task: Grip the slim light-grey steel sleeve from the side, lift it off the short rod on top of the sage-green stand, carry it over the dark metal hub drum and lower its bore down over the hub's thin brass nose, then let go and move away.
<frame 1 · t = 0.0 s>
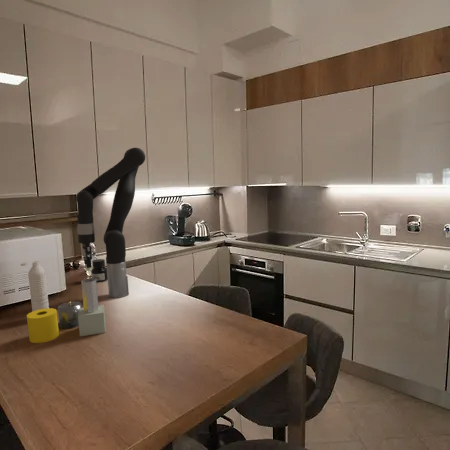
hand: (87, 265, 173), 17 cm above the table, tool pointing down, fingers open, 8 cm apart
sleeve: (91, 310, 139), point 8 cm above the table, touching sage stand
sage stand: (93, 329, 140), on the table
water bottle: (38, 319, 153), on the table
yellow toilet paper roll: (44, 337, 135), on the table
ink bottle: (100, 280, 209), on the table
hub: (71, 323, 146), on the table
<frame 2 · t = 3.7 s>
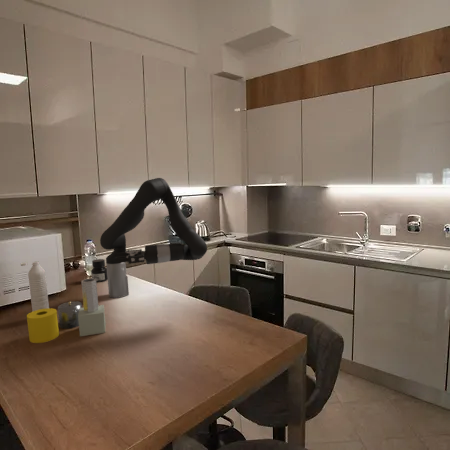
hand: (115, 258, 139), 28 cm above the table, tool horizontal, fingers open, 8 cm apart
nothing on the table moved.
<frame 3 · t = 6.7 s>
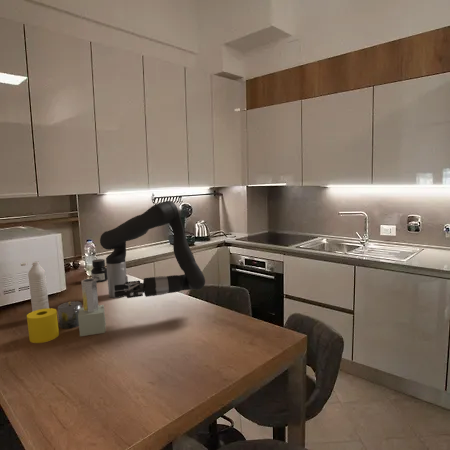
hand: (114, 291, 140), 14 cm above the table, tool horizontal, fingers open, 8 cm apart
nothing on the table moved.
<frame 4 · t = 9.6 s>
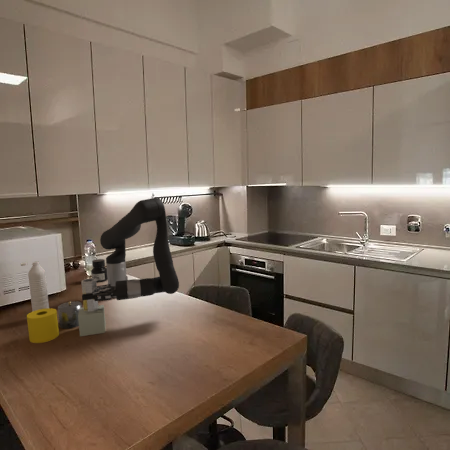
hand: (82, 295, 137), 15 cm above the table, tool horizontal, fingers closed on sleeve, 5 cm apart
sleeve: (91, 310, 139), point 8 cm above the table, touching gripper, sage stand
everything else where it was.
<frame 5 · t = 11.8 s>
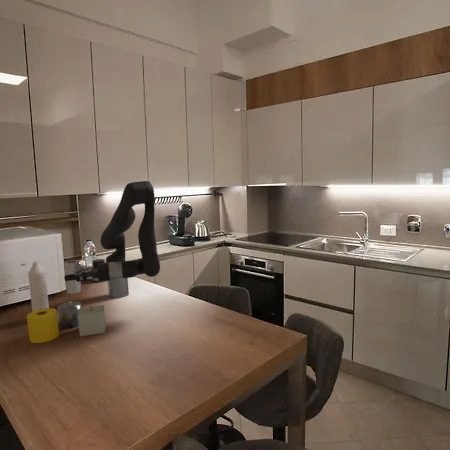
hand: (65, 276, 141), 21 cm above the table, tool horizontal, fingers closed on sleeve, 5 cm apart
sleeve: (74, 291, 143), point 14 cm above the table, touching gripper
everything else where it was.
when the fingers open (15 cm above the table, at t = 14.0 s): sleeve stays where it is, resting on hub.
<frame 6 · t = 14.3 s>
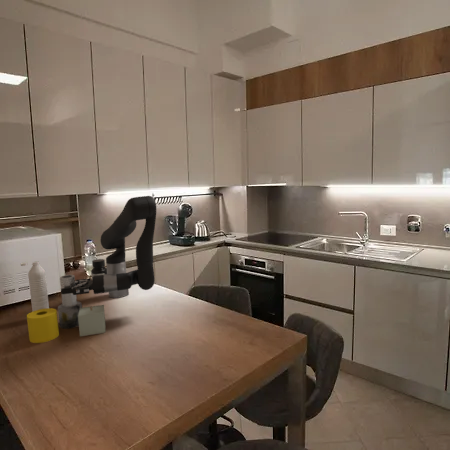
hand: (62, 288, 144), 15 cm above the table, tool horizontal, fingers open, 7 cm apart
sleeve: (70, 305, 145), point 8 cm above the table, touching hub
everything else where it was.
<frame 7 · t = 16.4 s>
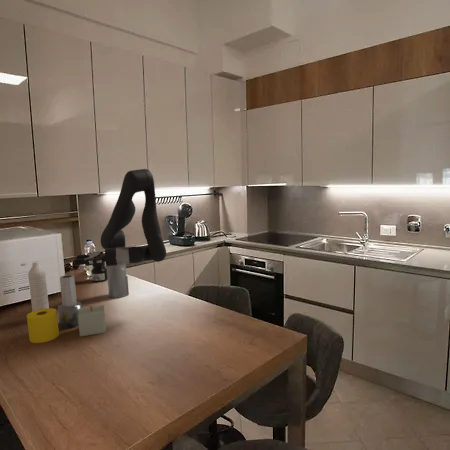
hand: (75, 260, 144), 26 cm above the table, tool horizontal, fingers open, 8 cm apart
nothing on the table moved.
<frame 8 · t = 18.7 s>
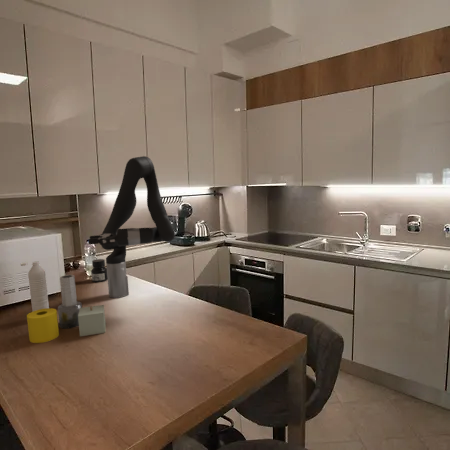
hand: (89, 240, 151), 33 cm above the table, tool horizontal, fingers open, 8 cm apart
nothing on the table moved.
at the end: sleeve 0.1 cm off-centre on the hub, point 8.0 cm above the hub's base; sleeve tilted 0°; the gripper is holding nothing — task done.
